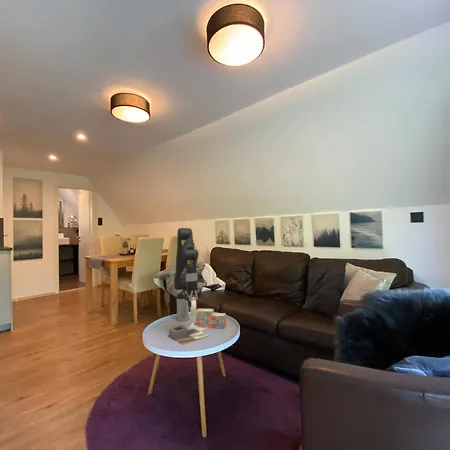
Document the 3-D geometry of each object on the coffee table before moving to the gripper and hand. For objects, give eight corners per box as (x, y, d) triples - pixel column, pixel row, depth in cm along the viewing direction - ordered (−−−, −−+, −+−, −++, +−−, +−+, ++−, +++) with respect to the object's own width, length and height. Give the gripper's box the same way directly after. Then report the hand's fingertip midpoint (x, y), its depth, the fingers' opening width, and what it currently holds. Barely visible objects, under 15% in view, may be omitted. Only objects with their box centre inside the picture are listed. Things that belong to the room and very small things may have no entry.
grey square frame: (169, 336, 186) (168, 328, 186) (181, 332, 191) (180, 325, 191) (175, 340, 179) (175, 332, 179) (187, 336, 184) (187, 328, 184)
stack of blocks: (226, 326, 205) (225, 309, 205) (224, 329, 199) (223, 311, 199) (199, 324, 211) (198, 308, 211) (196, 327, 205) (195, 310, 205)
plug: (189, 315, 184) (188, 297, 185) (194, 314, 187) (193, 296, 187) (192, 316, 181) (191, 298, 181) (197, 315, 183) (196, 297, 184)
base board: (167, 338, 186) (167, 335, 186) (193, 330, 199) (193, 327, 199) (182, 347, 171) (182, 344, 171) (209, 338, 183) (209, 335, 183)
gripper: (198, 277, 192) (199, 302, 191) (179, 280, 183) (180, 307, 183) (203, 278, 186) (205, 304, 185) (184, 282, 177) (186, 309, 177)
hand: (193, 305), depth 184 cm, fingers closed on plug, 4 cm apart
